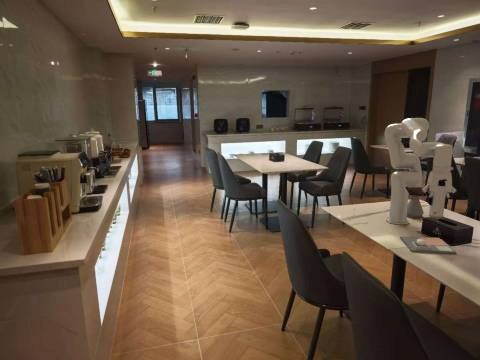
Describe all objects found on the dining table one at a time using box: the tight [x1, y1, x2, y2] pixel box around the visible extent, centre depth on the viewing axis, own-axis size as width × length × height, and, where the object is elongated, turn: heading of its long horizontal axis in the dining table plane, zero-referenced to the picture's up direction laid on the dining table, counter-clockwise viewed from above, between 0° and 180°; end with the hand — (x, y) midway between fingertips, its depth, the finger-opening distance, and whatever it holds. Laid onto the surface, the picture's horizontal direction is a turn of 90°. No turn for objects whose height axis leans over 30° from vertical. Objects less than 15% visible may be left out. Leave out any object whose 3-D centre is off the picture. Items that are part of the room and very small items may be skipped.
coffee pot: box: [406, 188, 425, 219], centre depth 221 cm, size 21×12×15 cm, turn 178°
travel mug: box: [428, 179, 447, 220], centre depth 168 cm, size 6×7×20 cm
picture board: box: [399, 236, 457, 255], centre depth 170 cm, size 18×20×2 cm
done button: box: [416, 239, 426, 246], centre depth 166 cm, size 4×4×2 cm
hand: (437, 204), depth 169 cm, fingers closed on travel mug, 6 cm apart
